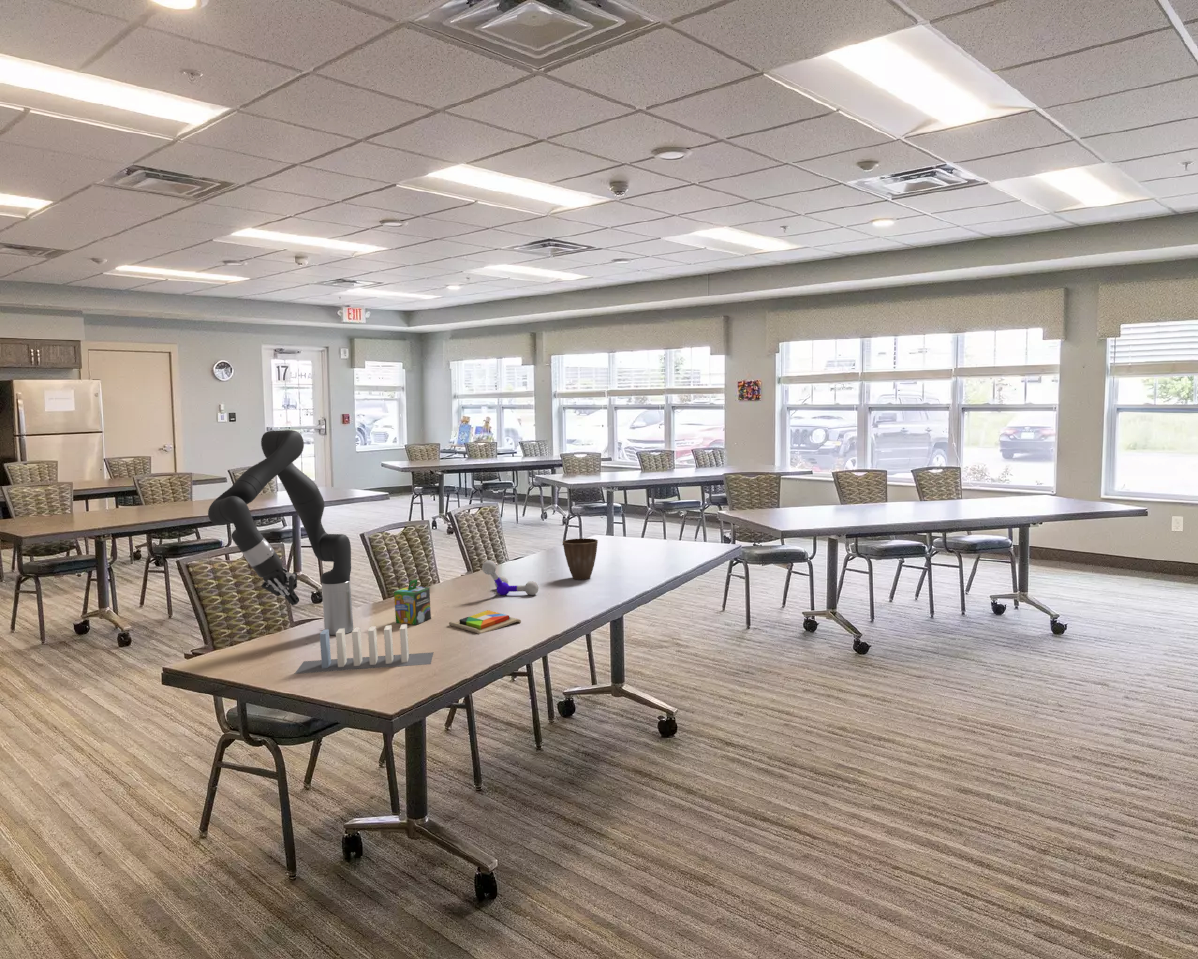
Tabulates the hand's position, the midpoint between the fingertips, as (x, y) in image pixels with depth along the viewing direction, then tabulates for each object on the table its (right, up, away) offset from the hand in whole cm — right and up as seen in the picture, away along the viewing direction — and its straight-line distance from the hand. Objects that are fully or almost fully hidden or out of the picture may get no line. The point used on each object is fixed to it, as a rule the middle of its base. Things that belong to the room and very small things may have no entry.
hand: (296, 603), depth 248 cm
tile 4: (+23, -17, 0) cm, 29 cm away
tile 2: (+14, -18, -1) cm, 23 cm away
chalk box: (+24, -14, +49) cm, 56 cm away
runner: (+21, -18, 0) cm, 27 cm away
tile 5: (+27, -17, 0) cm, 32 cm away
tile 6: (+32, -17, +1) cm, 36 cm away
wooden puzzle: (+50, -14, +41) cm, 66 cm away
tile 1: (+9, -18, -2) cm, 20 cm away
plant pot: (+81, -6, +113) cm, 139 cm away
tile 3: (+18, -17, -1) cm, 25 cm away
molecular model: (+55, -9, +87) cm, 104 cm away
